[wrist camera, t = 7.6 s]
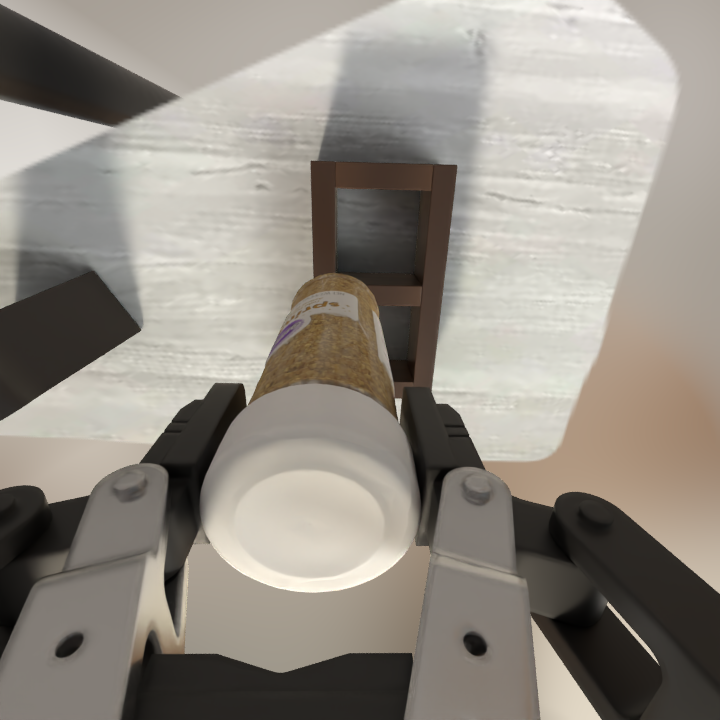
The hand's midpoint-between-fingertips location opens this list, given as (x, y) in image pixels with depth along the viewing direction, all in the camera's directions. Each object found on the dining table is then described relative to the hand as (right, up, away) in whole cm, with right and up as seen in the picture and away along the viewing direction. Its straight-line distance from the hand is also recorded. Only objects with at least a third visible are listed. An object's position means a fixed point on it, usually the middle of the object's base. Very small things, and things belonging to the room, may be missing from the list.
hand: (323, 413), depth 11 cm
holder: (+2, +8, +22) cm, 23 cm away
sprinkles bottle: (0, +4, +9) cm, 10 cm away
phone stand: (-24, +5, +23) cm, 33 cm away
